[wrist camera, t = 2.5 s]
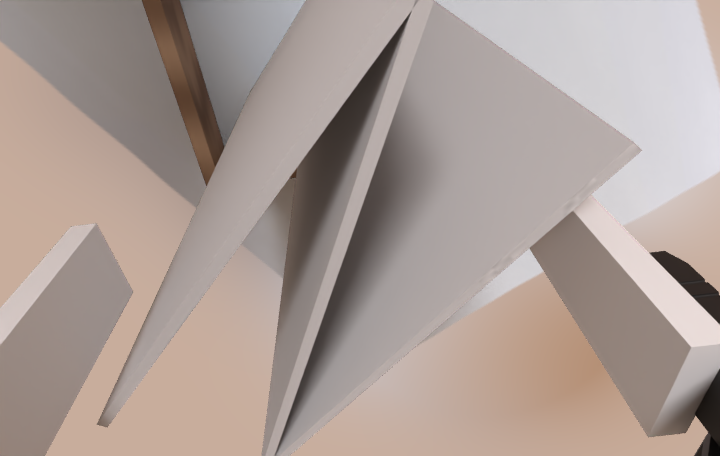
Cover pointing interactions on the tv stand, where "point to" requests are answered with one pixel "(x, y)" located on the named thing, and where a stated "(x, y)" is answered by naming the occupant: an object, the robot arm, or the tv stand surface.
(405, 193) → the brochure
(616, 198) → the tv stand surface
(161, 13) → the rack
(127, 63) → the tv stand surface
